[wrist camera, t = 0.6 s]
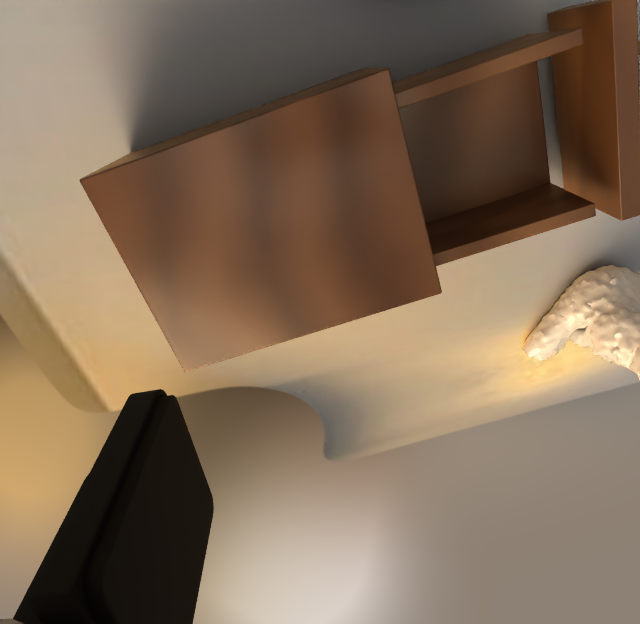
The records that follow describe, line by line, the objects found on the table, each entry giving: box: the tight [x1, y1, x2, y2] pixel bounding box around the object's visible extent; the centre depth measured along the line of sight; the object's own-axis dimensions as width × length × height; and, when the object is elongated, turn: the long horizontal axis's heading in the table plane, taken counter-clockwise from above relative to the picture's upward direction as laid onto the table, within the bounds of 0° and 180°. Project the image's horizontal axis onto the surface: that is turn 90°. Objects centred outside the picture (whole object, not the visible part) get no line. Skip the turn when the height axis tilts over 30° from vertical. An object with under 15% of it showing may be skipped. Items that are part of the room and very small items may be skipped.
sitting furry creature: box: [522, 265, 640, 379], centre depth 34 cm, size 10×9×12 cm
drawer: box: [393, 0, 640, 266], centre depth 29 cm, size 20×11×7 cm, turn 108°
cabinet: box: [80, 67, 442, 372], centre depth 31 cm, size 17×13×9 cm
